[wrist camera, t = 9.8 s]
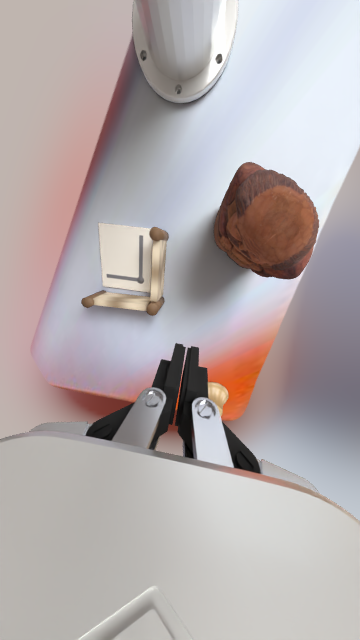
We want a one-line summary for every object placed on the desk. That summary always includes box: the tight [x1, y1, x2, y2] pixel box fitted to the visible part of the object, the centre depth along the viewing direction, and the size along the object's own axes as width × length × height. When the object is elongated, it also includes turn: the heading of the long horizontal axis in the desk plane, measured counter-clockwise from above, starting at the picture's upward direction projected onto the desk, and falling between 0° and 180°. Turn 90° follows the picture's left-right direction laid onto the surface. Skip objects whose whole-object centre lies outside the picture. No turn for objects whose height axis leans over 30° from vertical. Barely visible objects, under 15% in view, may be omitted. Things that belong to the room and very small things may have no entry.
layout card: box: [98, 223, 153, 292], centre depth 33 cm, size 12×10×1 cm
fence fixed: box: [146, 227, 169, 316], centre depth 30 cm, size 14×2×6 cm, turn 174°
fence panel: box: [81, 290, 152, 311], centre depth 33 cm, size 12×2×6 cm, turn 85°
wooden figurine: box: [214, 162, 319, 279], centre depth 21 cm, size 12×6×18 cm, turn 49°
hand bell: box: [208, 382, 228, 417], centre depth 36 cm, size 8×8×16 cm
